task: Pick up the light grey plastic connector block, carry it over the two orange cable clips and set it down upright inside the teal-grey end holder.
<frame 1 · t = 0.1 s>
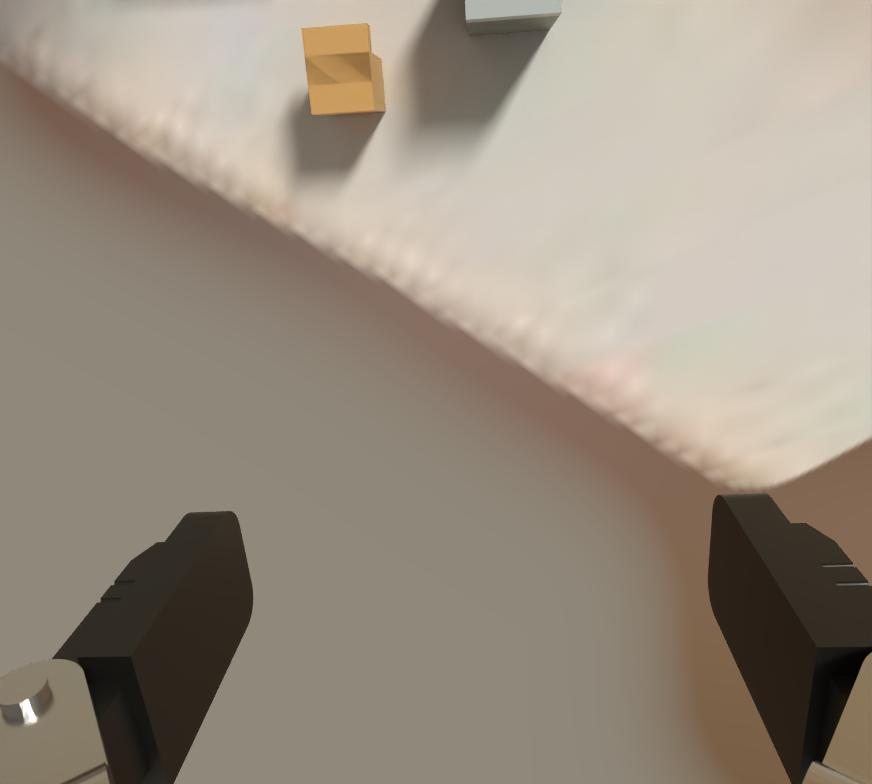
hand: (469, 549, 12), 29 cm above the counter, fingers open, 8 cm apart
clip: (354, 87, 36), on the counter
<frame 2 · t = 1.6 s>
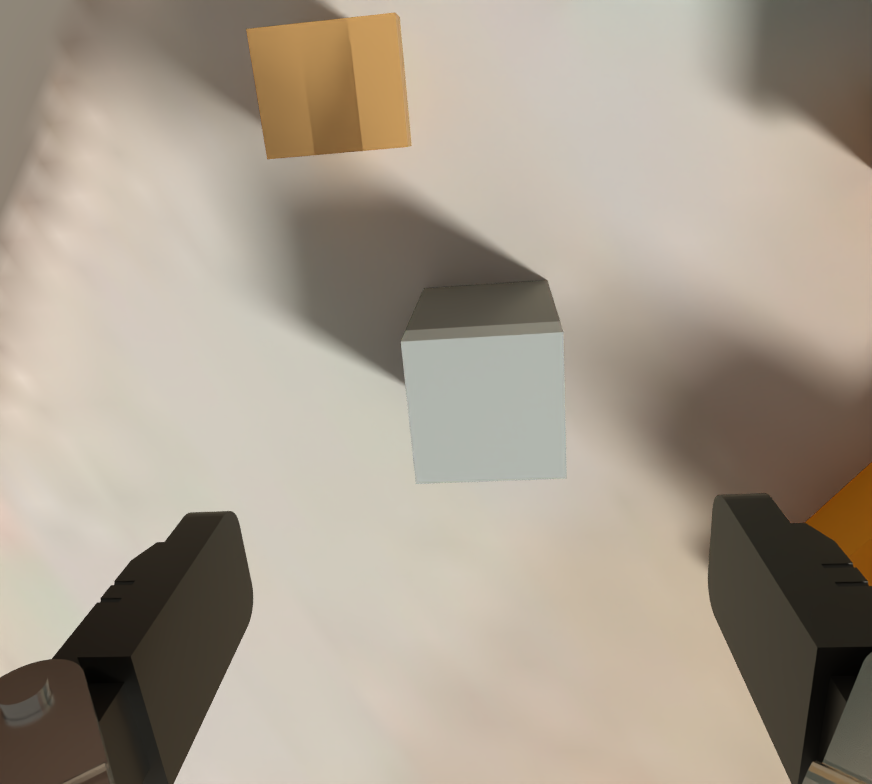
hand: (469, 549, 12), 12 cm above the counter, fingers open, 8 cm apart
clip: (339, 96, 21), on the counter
connector: (488, 342, 23), on the counter
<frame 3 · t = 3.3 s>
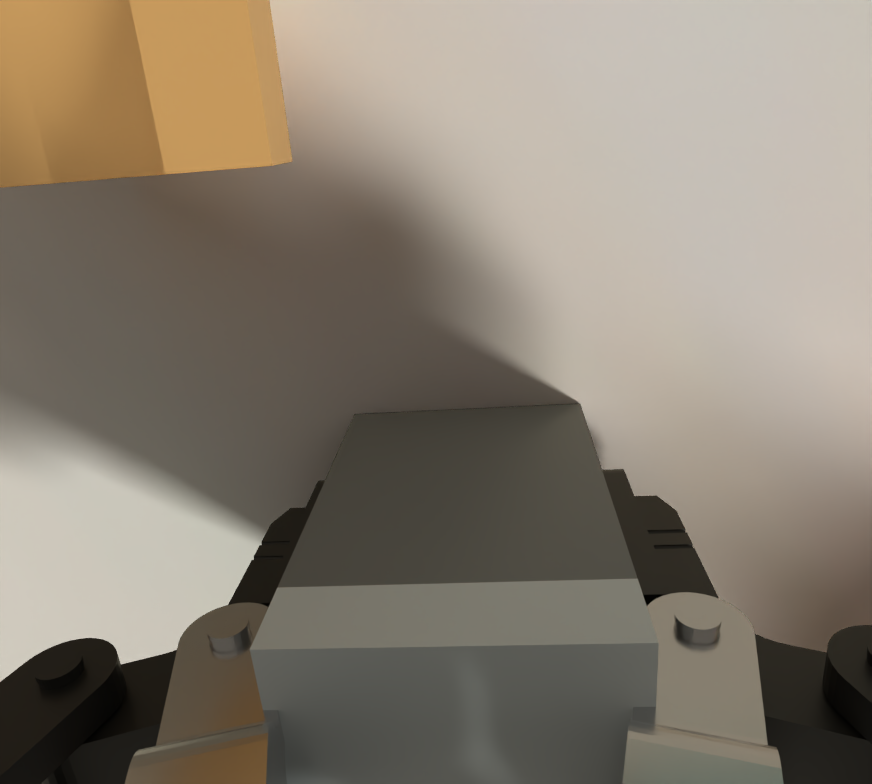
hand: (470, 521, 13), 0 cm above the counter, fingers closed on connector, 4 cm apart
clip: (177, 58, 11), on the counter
connector: (472, 507, 13), on the counter, touching gripper
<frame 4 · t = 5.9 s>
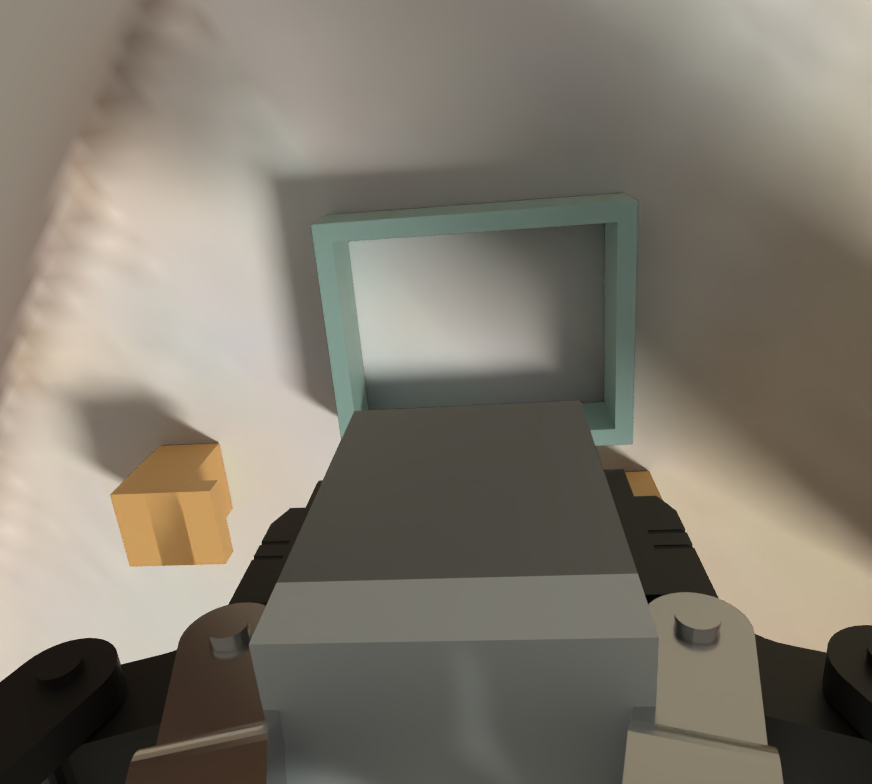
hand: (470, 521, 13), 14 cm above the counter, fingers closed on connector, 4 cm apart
end holder: (479, 319, 26), on the counter
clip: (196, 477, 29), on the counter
connector: (472, 504, 13), point 13 cm above the counter, touching gripper
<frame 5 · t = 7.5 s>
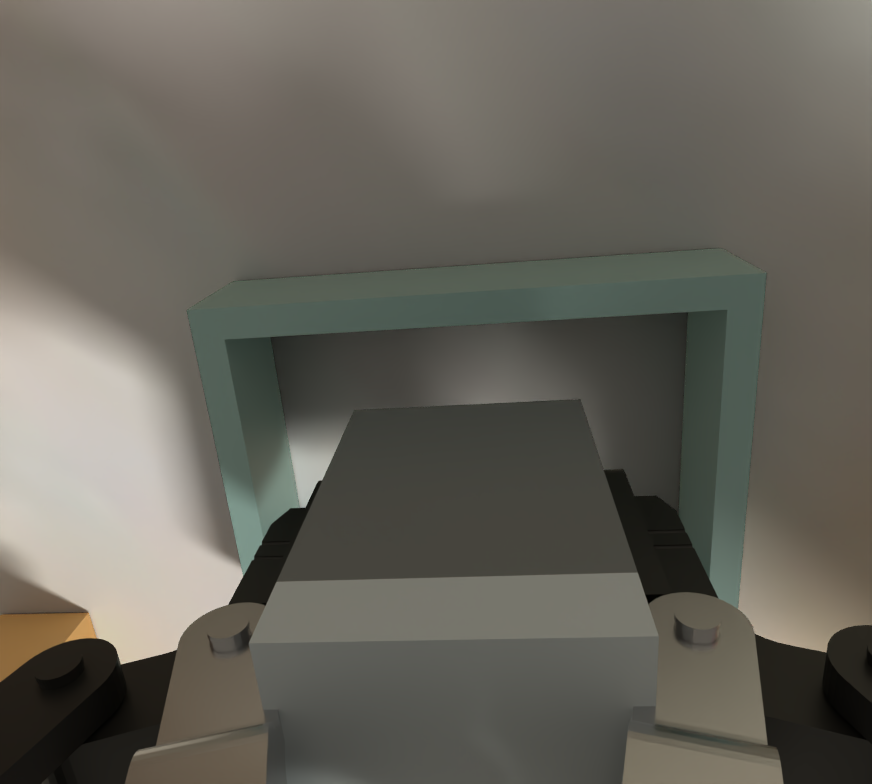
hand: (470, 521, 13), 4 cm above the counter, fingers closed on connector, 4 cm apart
end holder: (480, 443, 16), on the counter
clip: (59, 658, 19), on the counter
connector: (472, 503, 13), point 3 cm above the counter, touching gripper
when the fingers open (2 cm above the counter, at t = 8.6 s): connector drops 2 cm, resting in end holder.
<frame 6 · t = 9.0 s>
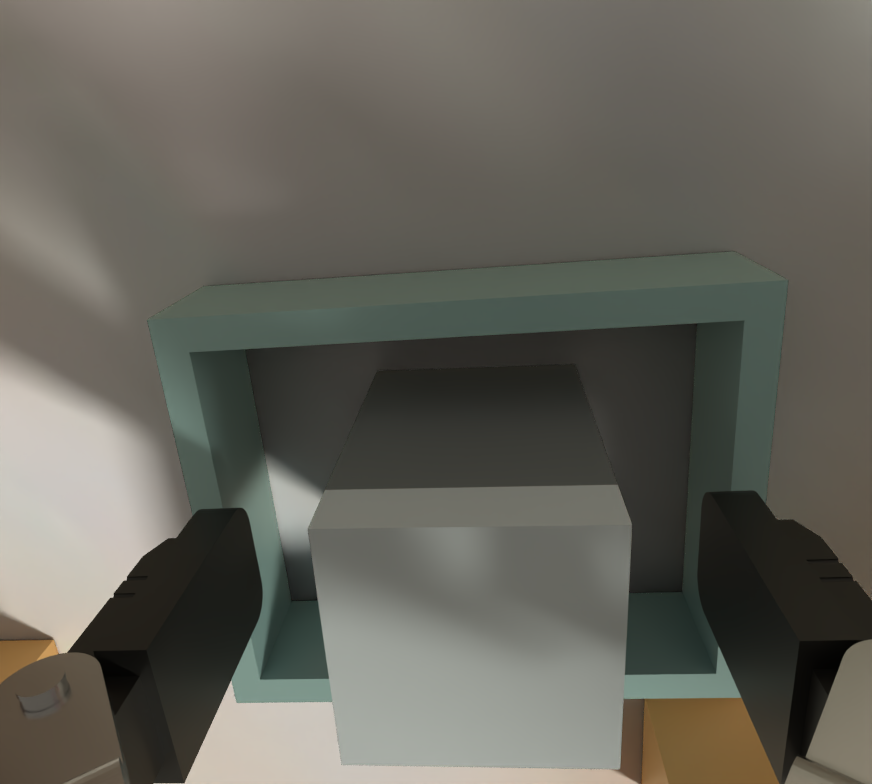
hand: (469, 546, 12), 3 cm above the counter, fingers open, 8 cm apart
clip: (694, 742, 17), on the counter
end holder: (472, 460, 15), on the counter
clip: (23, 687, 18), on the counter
connector: (478, 455, 15), resting in end holder
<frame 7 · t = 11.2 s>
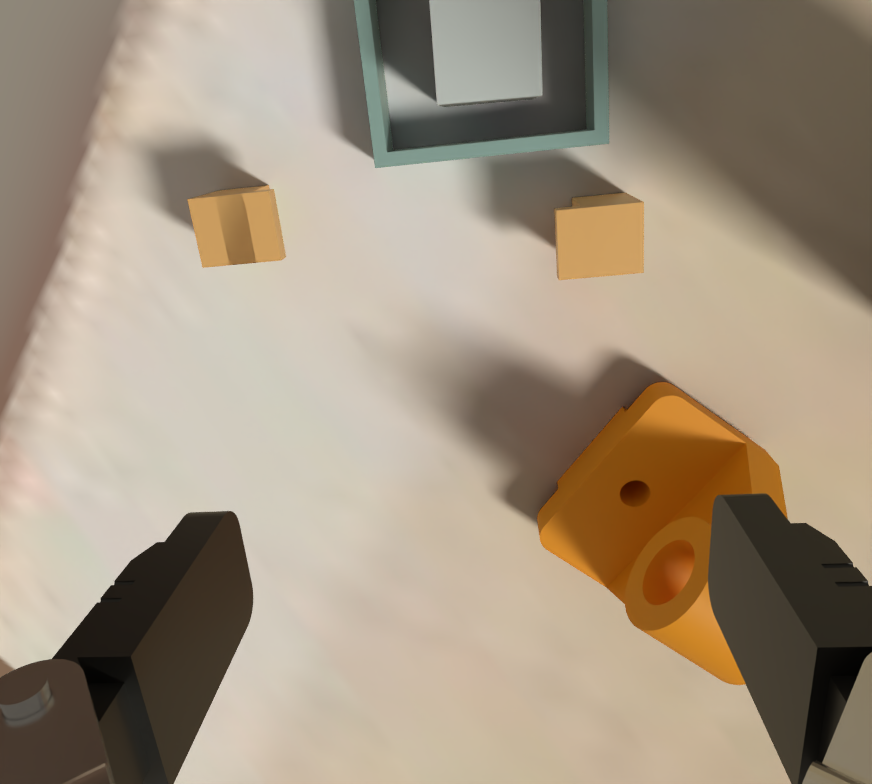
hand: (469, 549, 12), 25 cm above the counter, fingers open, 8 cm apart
end holder: (482, 57, 31), on the counter
bracket: (639, 477, 39), on the counter
connector: (485, 55, 31), resting in end holder
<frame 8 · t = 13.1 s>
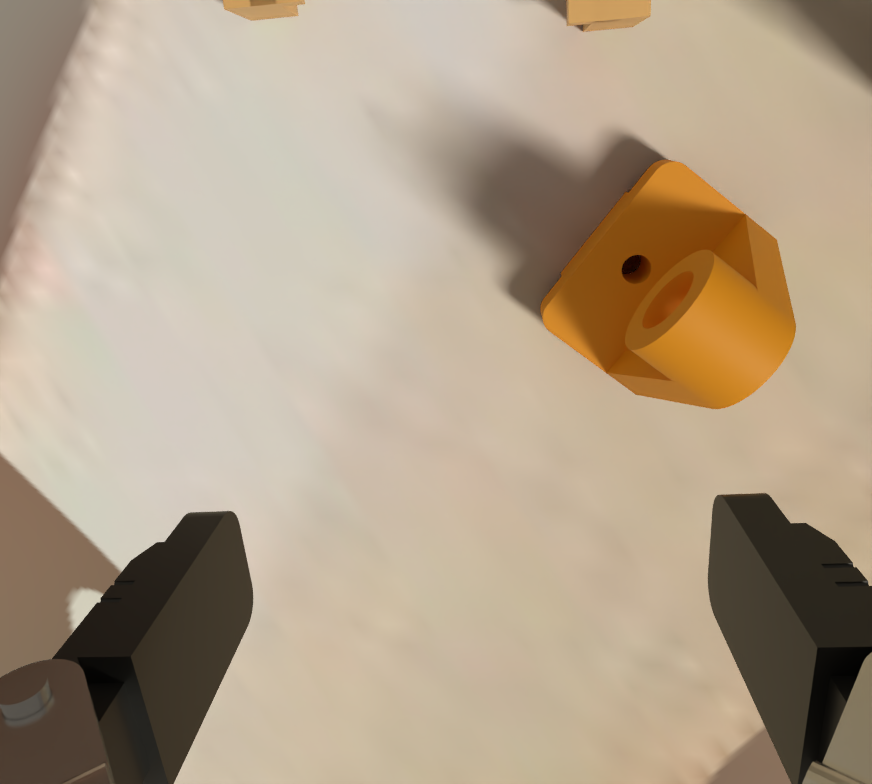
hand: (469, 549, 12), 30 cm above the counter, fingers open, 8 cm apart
bracket: (640, 270, 40), on the counter
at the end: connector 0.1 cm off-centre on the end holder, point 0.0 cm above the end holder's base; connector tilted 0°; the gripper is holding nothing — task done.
